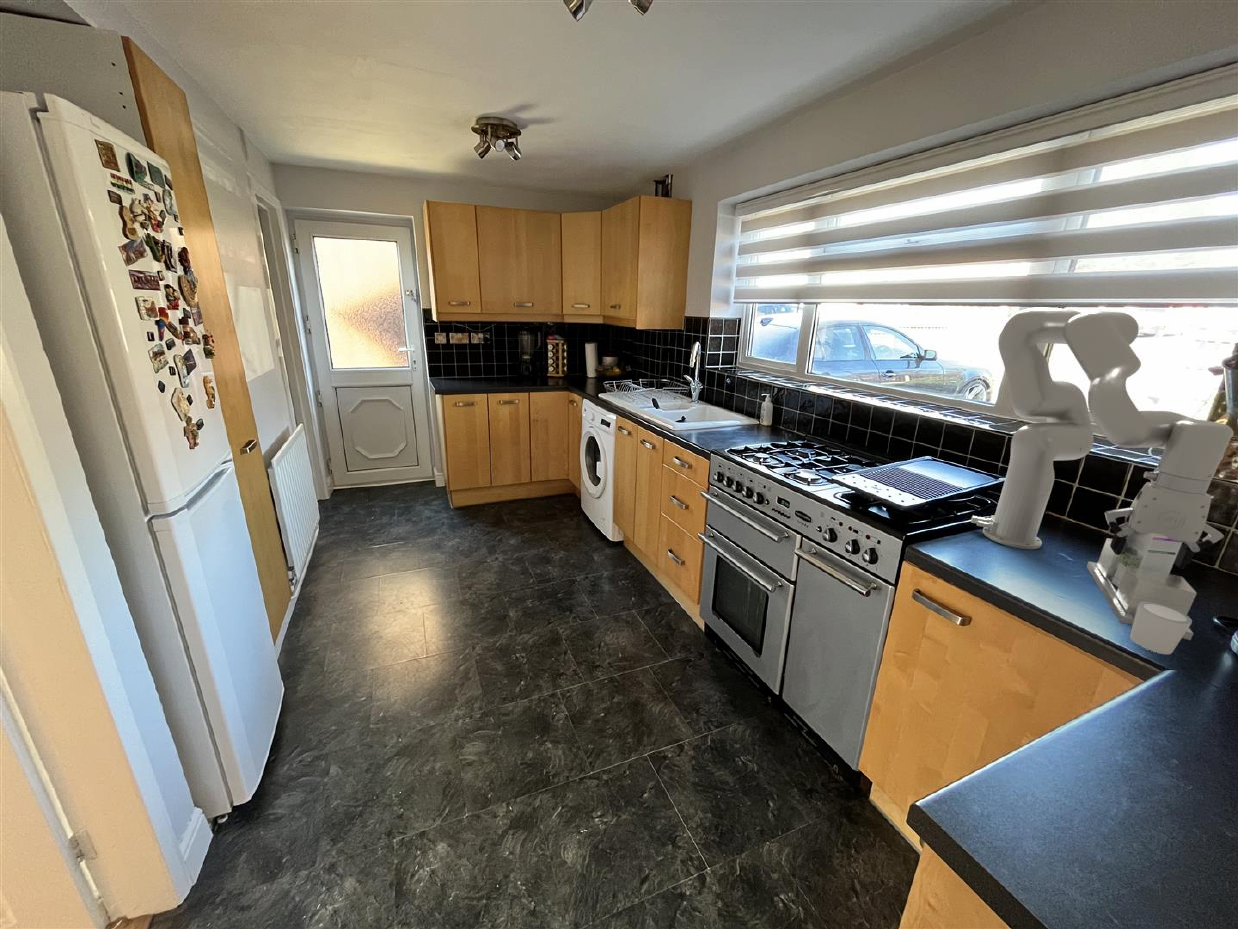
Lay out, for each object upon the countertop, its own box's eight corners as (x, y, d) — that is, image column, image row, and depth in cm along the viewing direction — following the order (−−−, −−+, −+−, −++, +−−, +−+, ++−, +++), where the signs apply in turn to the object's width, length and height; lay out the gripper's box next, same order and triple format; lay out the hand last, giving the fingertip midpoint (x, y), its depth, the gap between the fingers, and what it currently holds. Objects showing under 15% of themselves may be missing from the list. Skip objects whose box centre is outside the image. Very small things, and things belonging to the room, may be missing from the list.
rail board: (1119, 622, 99) (1135, 583, 96) (1086, 566, 120) (1099, 533, 117) (1190, 640, 94) (1209, 599, 91) (1143, 579, 115) (1157, 545, 113)
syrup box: (1160, 600, 104) (1187, 537, 99) (1126, 596, 105) (1152, 533, 100) (1139, 586, 109) (1164, 525, 104) (1107, 582, 110) (1131, 521, 105)
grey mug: (1162, 637, 95) (1176, 605, 92) (1187, 660, 88) (1203, 627, 86) (1116, 629, 97) (1129, 597, 94) (1138, 651, 90) (1152, 618, 88)
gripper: (1126, 478, 100) (1096, 554, 106) (1253, 498, 92) (1213, 579, 97) (1115, 468, 106) (1087, 540, 112) (1233, 486, 98) (1197, 563, 103)
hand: (1146, 558), depth 104 cm, fingers open, 9 cm apart
